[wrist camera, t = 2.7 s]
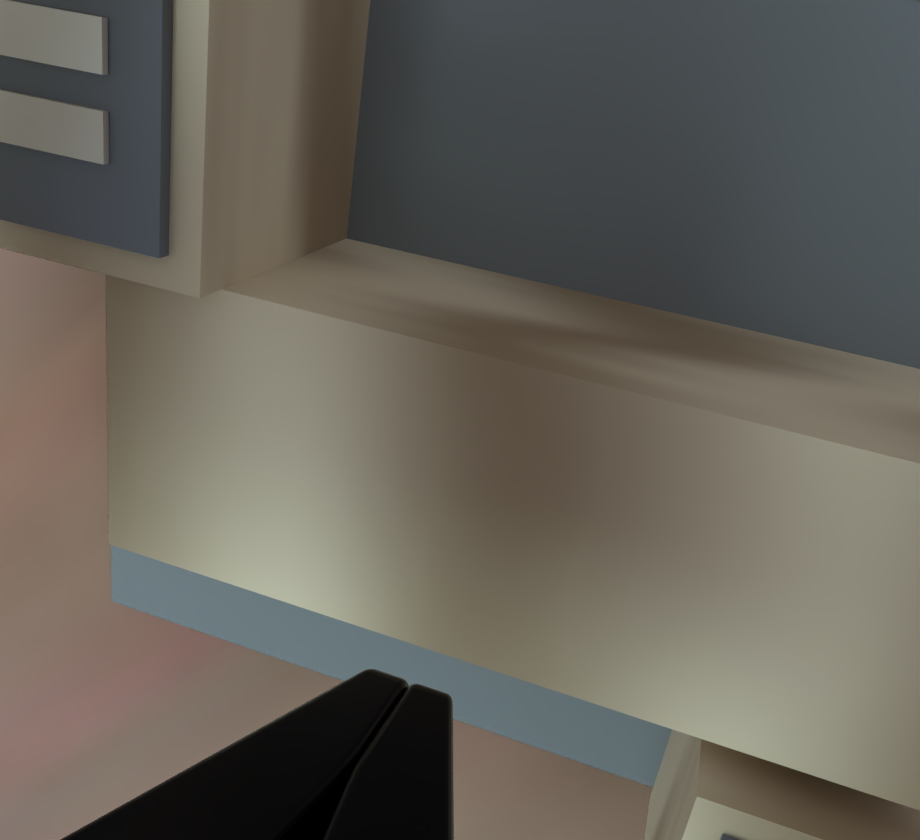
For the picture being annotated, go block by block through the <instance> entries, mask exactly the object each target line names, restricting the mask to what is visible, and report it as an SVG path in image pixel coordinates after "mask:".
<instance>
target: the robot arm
mask: <svg viewBox="0 0 920 840" xmlns="http://www.w3.org/2000/svg"><path fill="white" fill-rule="evenodd" d="M61 840H454V825H453V701H452V698H451V696H450V695H449V694H447V693H444V692H441V691H438V690H435V689H432V688H429V687H426V686H423V685H420V684H412V685H410V686H409V685H408V683H407V682H406V680H404V679H403V678H400V677H397V676H394V675H391V674H388V673H385V672H382V671H379V670H376V669H367V670H364V671H362V672H360V673H358V674H356V675H354V676H353V677H351V678H349V679H347V680H345V681H344V682H342V683H340V684H338V685H337V686H335V687H333V688H331V689H329V690H328V691H326V692H324V693H322V694H320V695H319V696H317V697H315V698H313V699H311V700H310V701H308V702H306V703H304V704H302V705H301V706H299V707H297V708H295V709H294V710H292V711H290V712H288V713H286V714H285V715H283V716H281V717H279V718H277V719H276V720H274V721H272V722H270V723H268V724H267V725H265V726H263V727H261V728H260V729H258V730H256V731H254V732H252V733H251V734H249V735H247V736H245V737H243V738H242V739H240V740H238V741H236V742H234V743H233V744H231V745H229V746H227V747H225V748H224V749H222V750H220V751H218V752H217V753H215V754H213V755H211V756H209V757H208V758H206V759H204V760H202V761H200V762H199V763H197V764H195V765H193V766H191V767H190V768H188V769H186V770H184V771H183V772H181V773H179V774H177V775H175V776H174V777H172V778H170V779H168V780H166V781H165V782H163V783H161V784H159V785H157V786H156V787H154V788H152V789H150V790H148V791H147V792H145V793H143V794H141V795H140V796H138V797H136V798H134V799H132V800H131V801H129V802H127V803H125V804H123V805H122V806H120V807H118V808H116V809H114V810H113V811H111V812H109V813H107V814H106V815H104V816H102V817H100V818H98V819H97V820H95V821H93V822H91V823H89V824H88V825H86V826H84V827H82V828H80V829H79V830H77V831H75V832H73V833H71V834H70V835H68V836H66V837H64V838H63V839H61Z"/></svg>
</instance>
